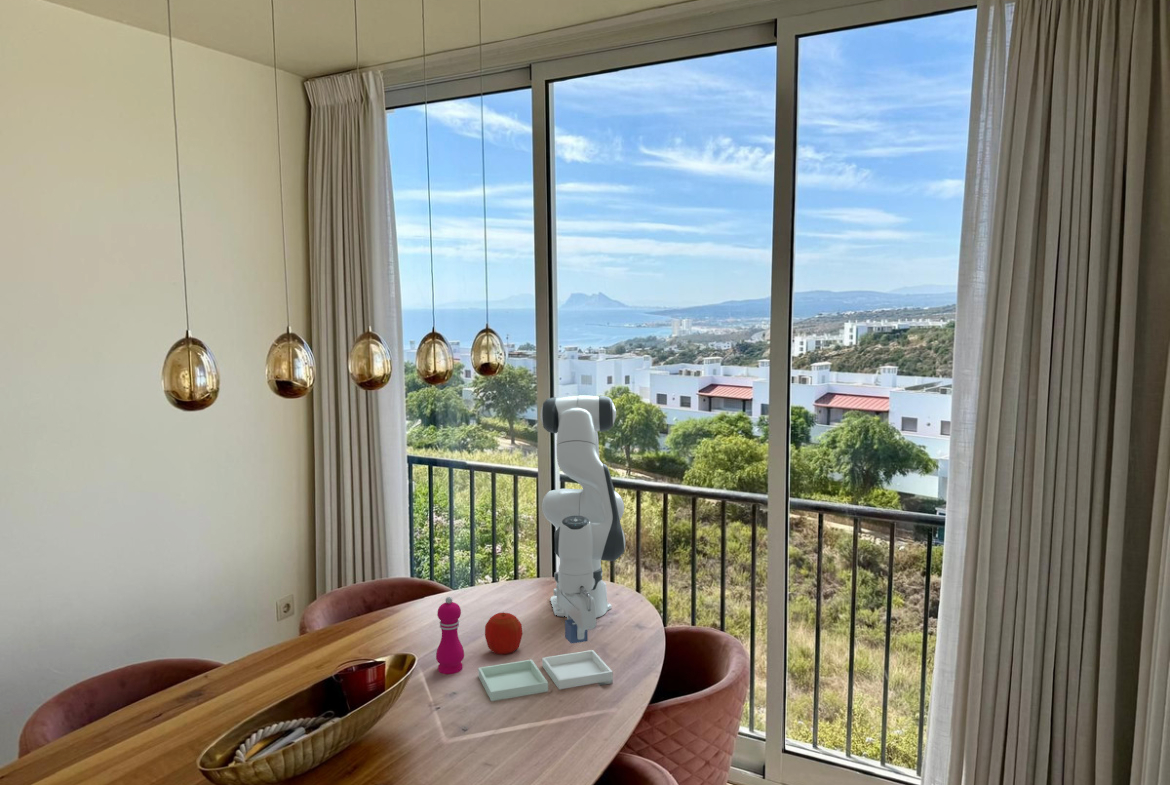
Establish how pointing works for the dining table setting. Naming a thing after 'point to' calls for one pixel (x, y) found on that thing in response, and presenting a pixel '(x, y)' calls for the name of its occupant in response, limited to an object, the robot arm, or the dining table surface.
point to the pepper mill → (449, 639)
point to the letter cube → (573, 632)
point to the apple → (503, 633)
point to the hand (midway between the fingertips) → (576, 634)
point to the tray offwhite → (577, 669)
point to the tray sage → (512, 680)
